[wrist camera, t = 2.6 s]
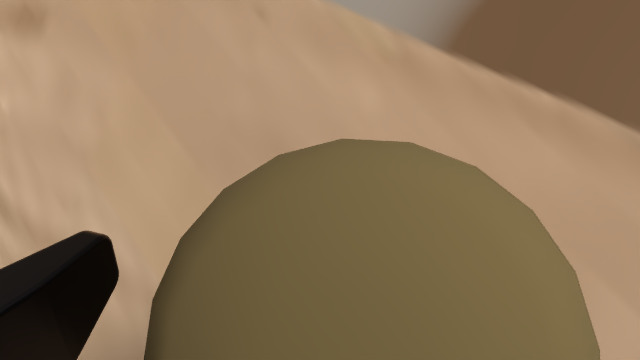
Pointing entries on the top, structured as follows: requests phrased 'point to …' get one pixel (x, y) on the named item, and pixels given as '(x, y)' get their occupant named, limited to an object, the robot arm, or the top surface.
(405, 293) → the cork
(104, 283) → the robot arm
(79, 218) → the top surface
